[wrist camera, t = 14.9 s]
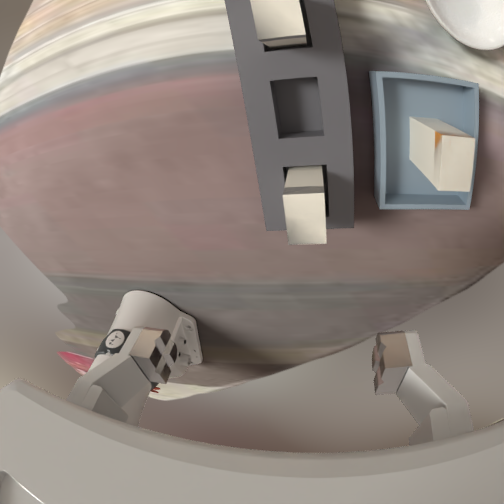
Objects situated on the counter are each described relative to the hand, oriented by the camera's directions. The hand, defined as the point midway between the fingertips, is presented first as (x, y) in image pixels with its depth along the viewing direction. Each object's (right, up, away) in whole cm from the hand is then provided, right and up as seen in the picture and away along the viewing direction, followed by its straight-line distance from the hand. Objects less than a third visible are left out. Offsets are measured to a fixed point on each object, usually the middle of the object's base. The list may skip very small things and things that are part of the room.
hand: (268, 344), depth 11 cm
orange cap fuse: (+18, +16, +16) cm, 29 cm away
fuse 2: (+6, +11, +22) cm, 25 cm away
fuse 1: (+3, +26, +12) cm, 29 cm away
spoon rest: (+27, +34, +2) cm, 43 cm away
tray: (+19, +17, +16) cm, 30 cm away
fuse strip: (+4, +19, +17) cm, 26 cm away
